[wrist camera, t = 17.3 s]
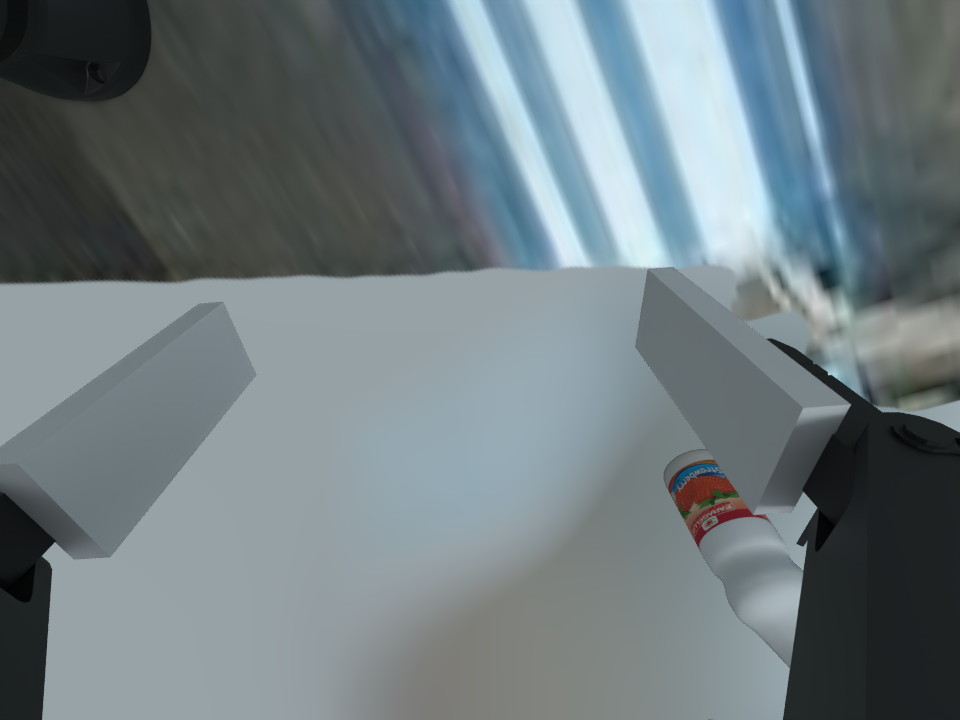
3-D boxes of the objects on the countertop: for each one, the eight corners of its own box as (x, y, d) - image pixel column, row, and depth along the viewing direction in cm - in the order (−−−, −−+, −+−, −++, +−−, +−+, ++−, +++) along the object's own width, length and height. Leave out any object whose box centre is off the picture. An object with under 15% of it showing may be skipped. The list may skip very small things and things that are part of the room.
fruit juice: (685, 497, 65) (808, 717, 41) (649, 473, 62) (760, 697, 38) (736, 465, 61) (903, 687, 38) (700, 437, 58) (858, 661, 34)
